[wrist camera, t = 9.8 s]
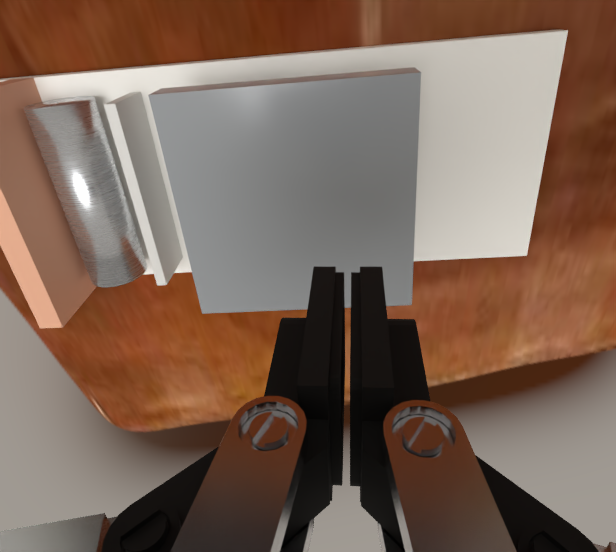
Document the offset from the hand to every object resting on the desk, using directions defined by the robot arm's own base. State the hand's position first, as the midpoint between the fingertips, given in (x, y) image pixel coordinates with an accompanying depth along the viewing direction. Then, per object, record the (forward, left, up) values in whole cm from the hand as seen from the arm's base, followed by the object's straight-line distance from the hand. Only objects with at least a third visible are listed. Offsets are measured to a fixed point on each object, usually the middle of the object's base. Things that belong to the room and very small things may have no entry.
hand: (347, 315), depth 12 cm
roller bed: (+4, +1, -14) cm, 15 cm away
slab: (+2, +1, -10) cm, 10 cm away
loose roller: (+12, +1, -13) cm, 18 cm away
